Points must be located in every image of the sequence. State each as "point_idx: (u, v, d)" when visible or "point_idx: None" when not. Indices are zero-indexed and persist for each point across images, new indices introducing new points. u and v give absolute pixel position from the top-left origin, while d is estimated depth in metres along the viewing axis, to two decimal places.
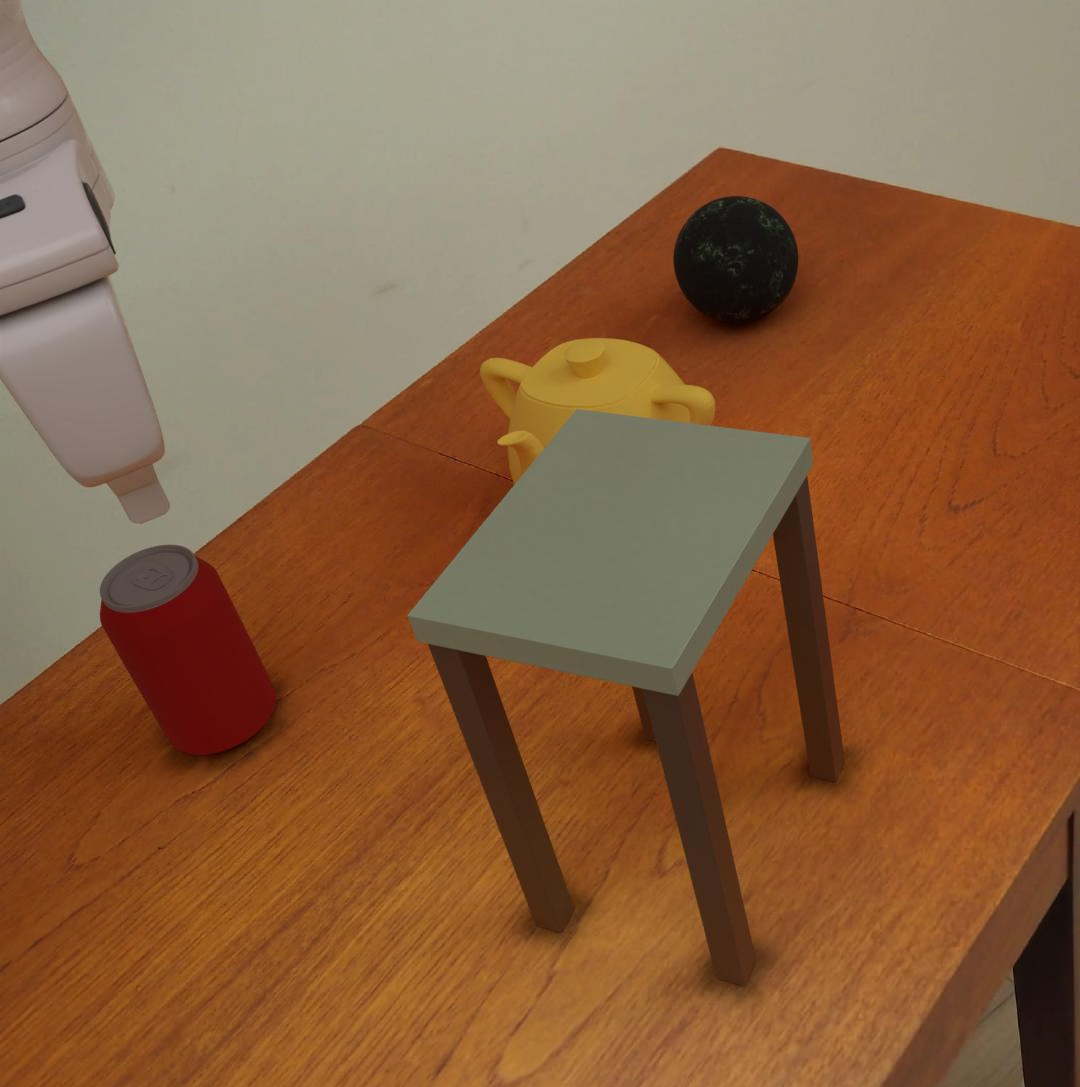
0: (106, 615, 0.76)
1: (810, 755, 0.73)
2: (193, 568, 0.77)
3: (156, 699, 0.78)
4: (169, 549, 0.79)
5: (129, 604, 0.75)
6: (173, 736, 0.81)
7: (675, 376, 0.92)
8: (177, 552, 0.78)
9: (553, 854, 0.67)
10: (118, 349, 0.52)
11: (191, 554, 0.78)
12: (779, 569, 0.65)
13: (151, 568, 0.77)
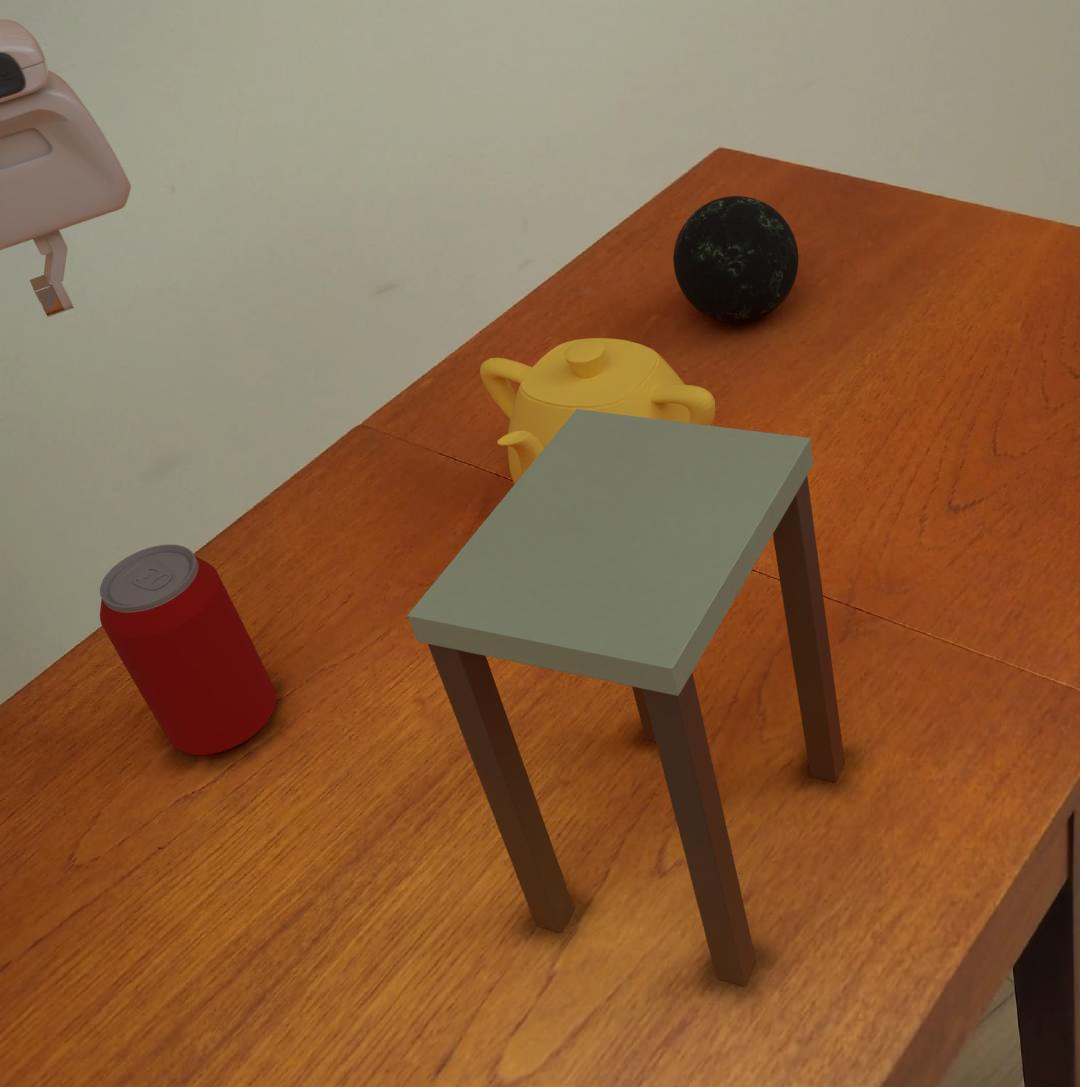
0: (106, 615, 0.76)
1: (810, 755, 0.73)
2: (193, 568, 0.77)
3: (156, 699, 0.78)
4: (169, 549, 0.79)
5: (129, 604, 0.75)
6: (173, 736, 0.81)
7: (675, 376, 0.92)
8: (177, 552, 0.78)
9: (553, 854, 0.67)
10: None
11: (191, 554, 0.78)
12: (779, 569, 0.65)
13: (151, 568, 0.77)
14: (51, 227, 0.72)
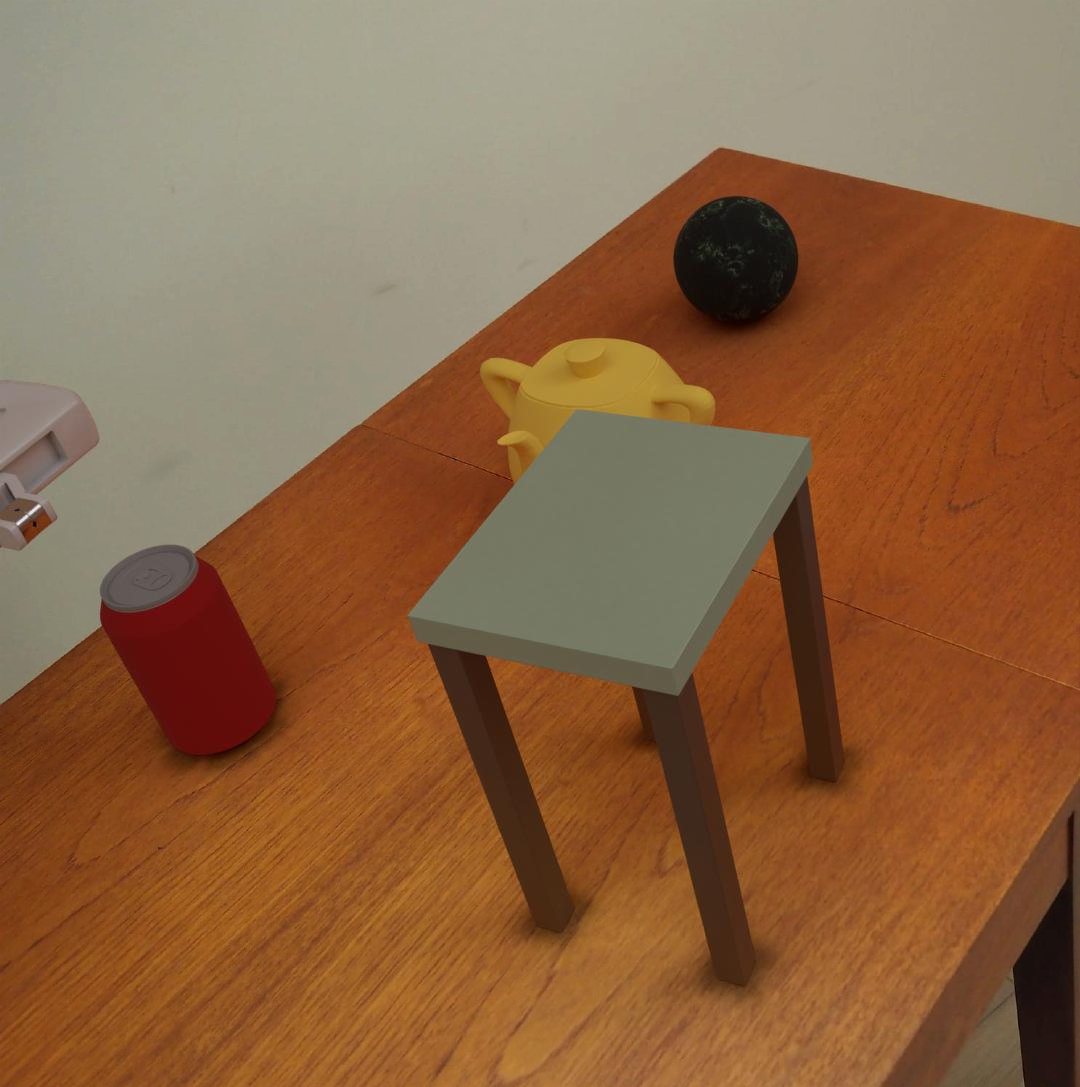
0: (106, 615, 0.76)
1: (810, 755, 0.73)
2: (193, 568, 0.77)
3: (156, 699, 0.78)
4: (169, 549, 0.79)
5: (129, 604, 0.75)
6: (173, 736, 0.81)
7: (675, 376, 0.92)
8: (177, 552, 0.78)
9: (553, 854, 0.67)
10: None
11: (191, 554, 0.78)
12: (779, 569, 0.65)
13: (151, 568, 0.77)
14: (28, 432, 0.82)
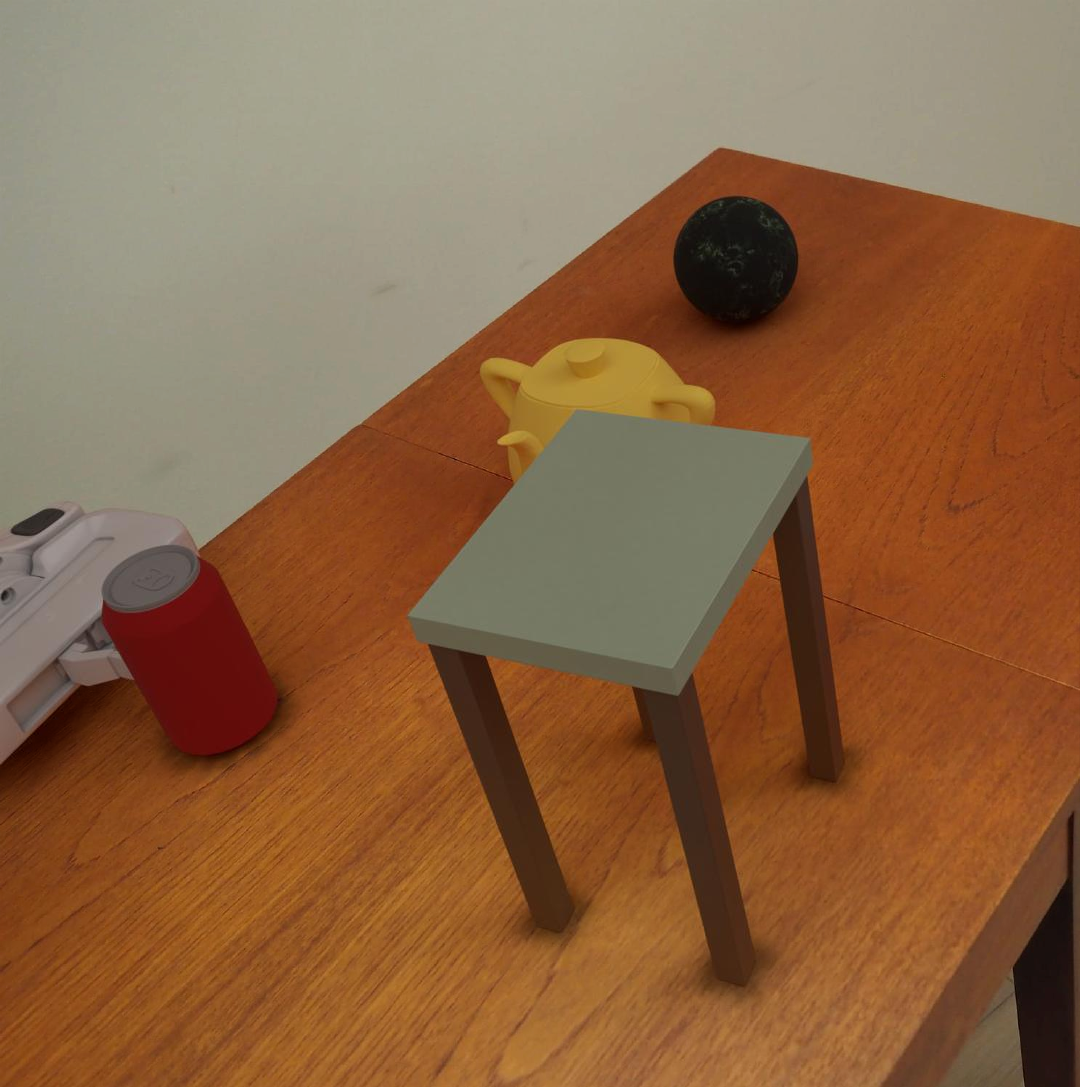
0: (108, 615, 0.76)
1: (810, 755, 0.73)
2: (195, 568, 0.76)
3: (158, 699, 0.78)
4: (171, 549, 0.79)
5: (131, 604, 0.75)
6: (174, 736, 0.81)
7: (675, 376, 0.92)
8: (179, 552, 0.78)
9: (553, 854, 0.67)
10: None
11: (193, 554, 0.78)
12: (779, 569, 0.65)
13: (153, 568, 0.77)
14: None
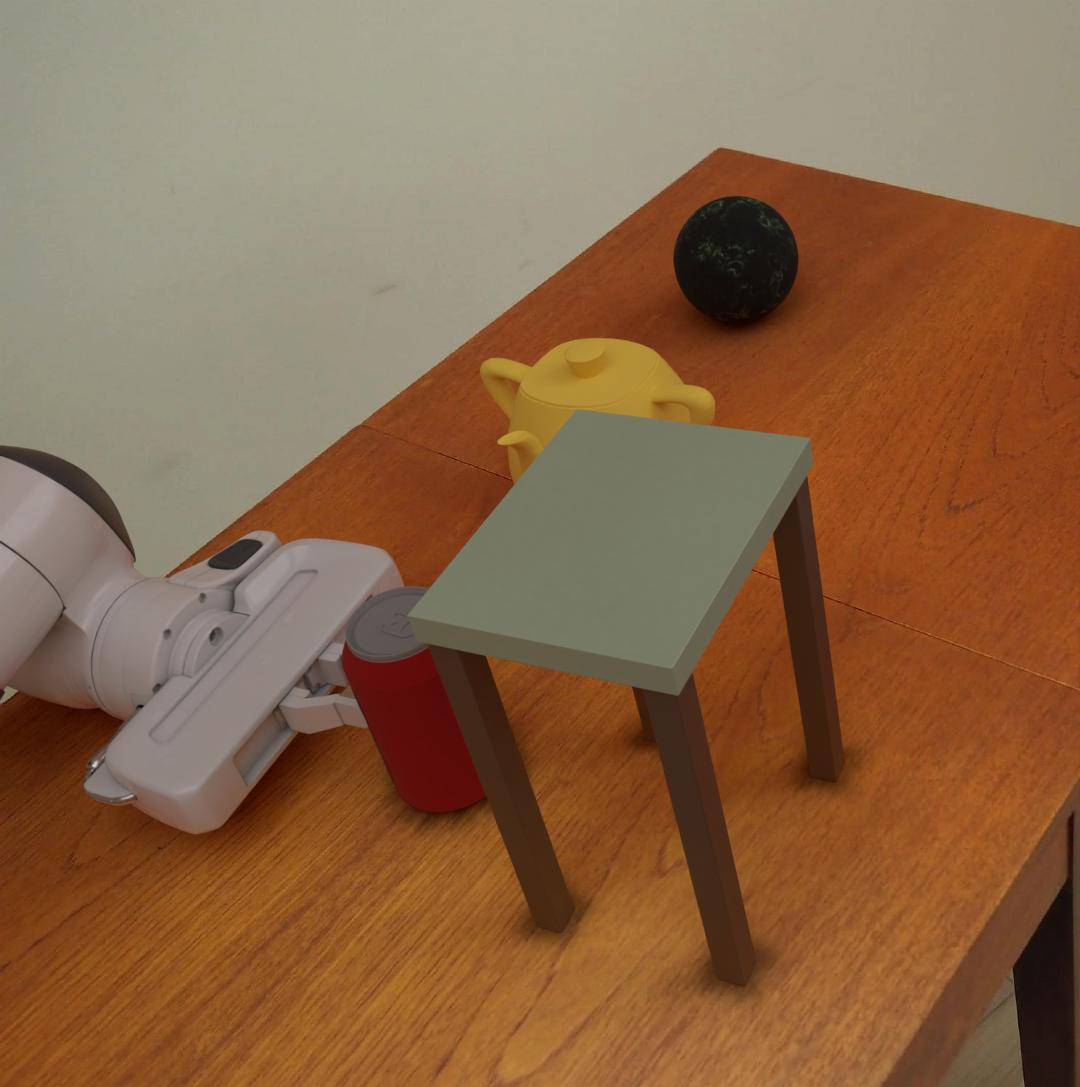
0: (353, 665, 0.70)
1: (810, 755, 0.73)
2: None
3: (398, 754, 0.72)
4: (413, 591, 0.72)
5: (380, 653, 0.69)
6: (409, 792, 0.74)
7: (675, 376, 0.92)
8: (422, 595, 0.72)
9: (553, 854, 0.67)
10: None
11: None
12: (779, 569, 0.65)
13: (397, 612, 0.71)
14: (351, 598, 0.81)
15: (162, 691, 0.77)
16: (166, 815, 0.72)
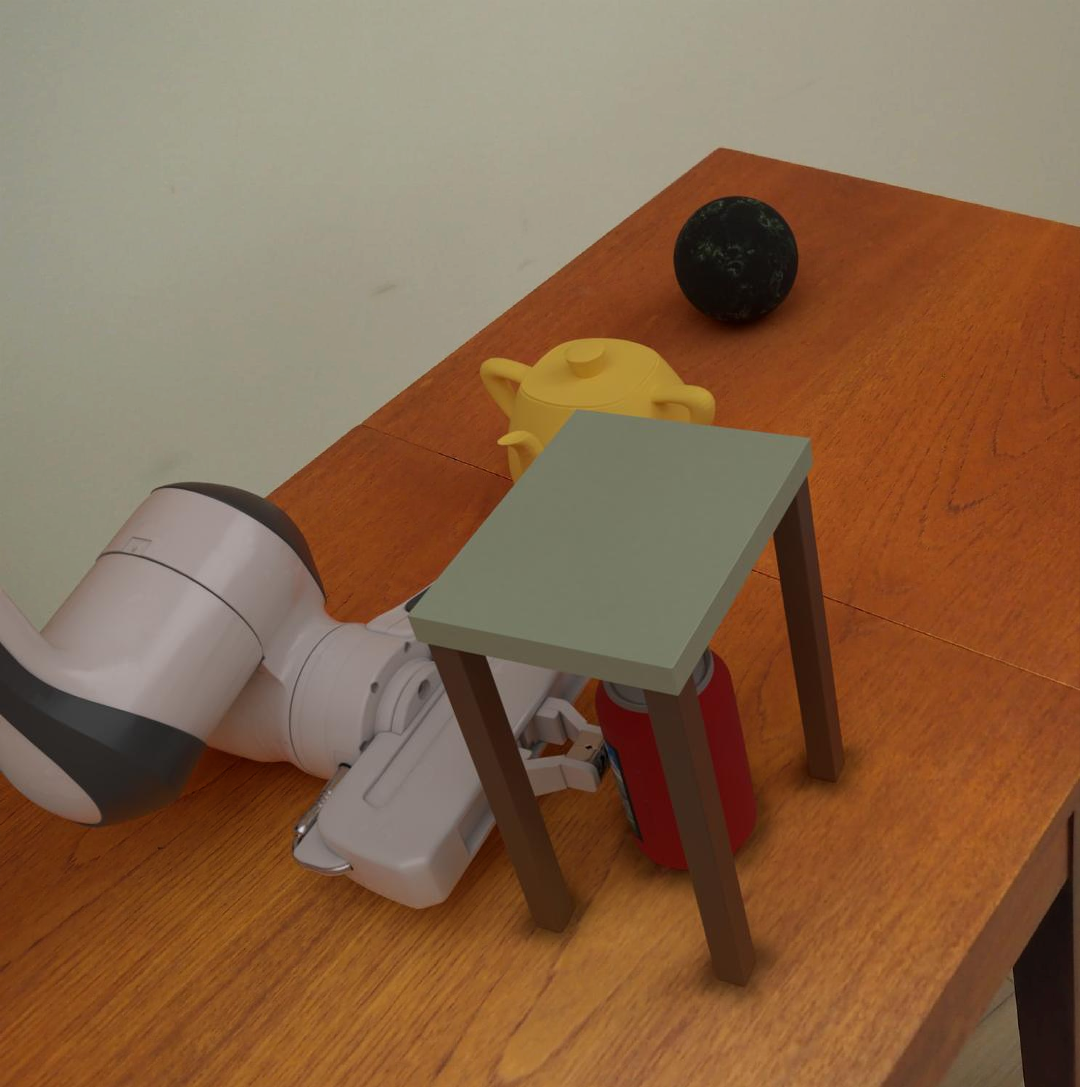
0: (620, 717, 0.64)
1: (810, 755, 0.73)
2: (710, 654, 0.65)
3: (660, 810, 0.67)
4: None
5: None
6: (663, 850, 0.69)
7: (675, 376, 0.92)
8: None
9: (553, 854, 0.67)
10: None
11: None
12: (779, 569, 0.65)
13: None
14: None
15: (371, 749, 0.71)
16: (387, 888, 0.67)
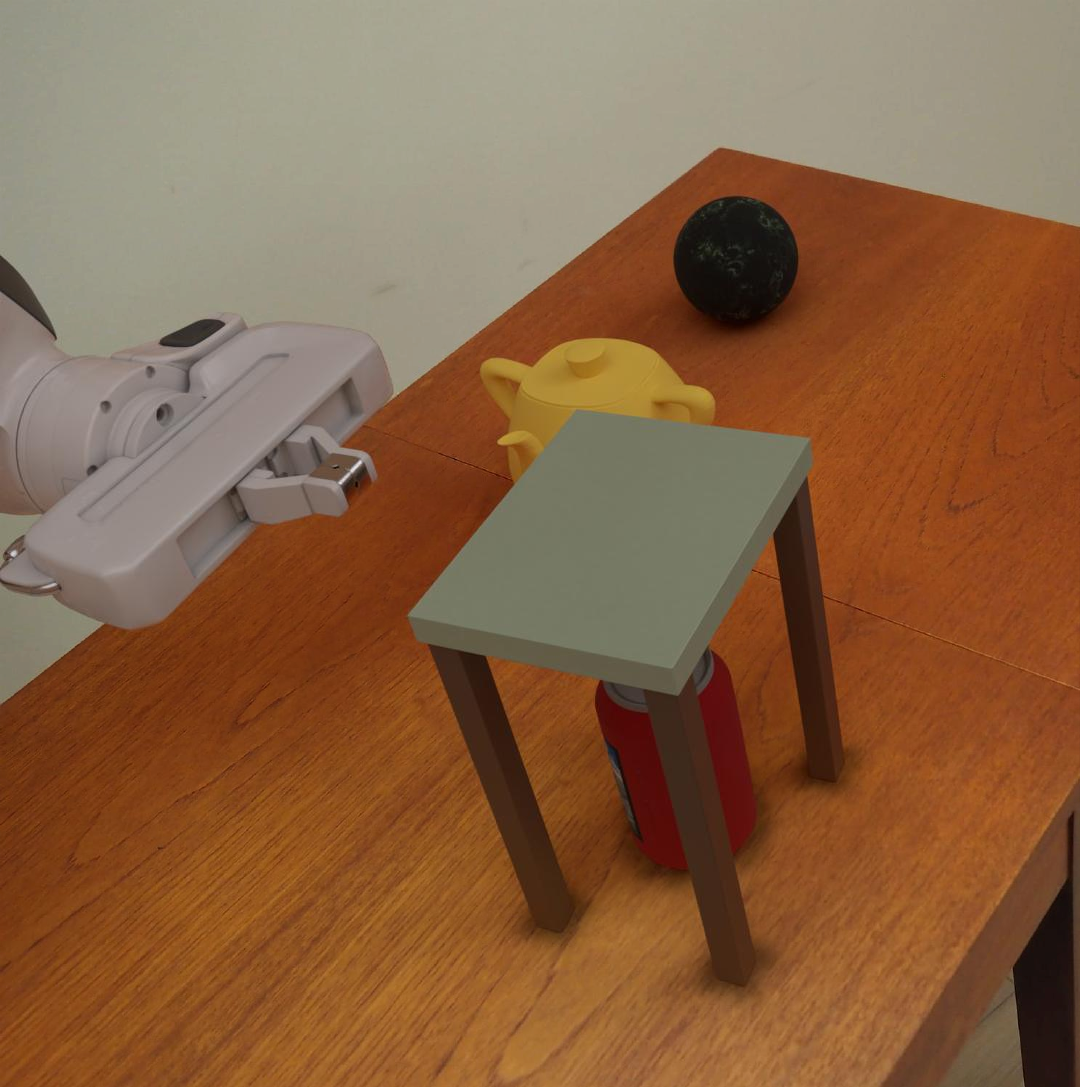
0: (620, 717, 0.64)
1: (810, 755, 0.73)
2: (711, 654, 0.65)
3: (660, 810, 0.67)
4: None
5: None
6: (663, 850, 0.69)
7: (675, 376, 0.92)
8: None
9: (553, 854, 0.67)
10: None
11: None
12: (779, 569, 0.65)
13: None
14: (327, 378, 0.68)
15: (98, 472, 0.64)
16: (95, 605, 0.60)
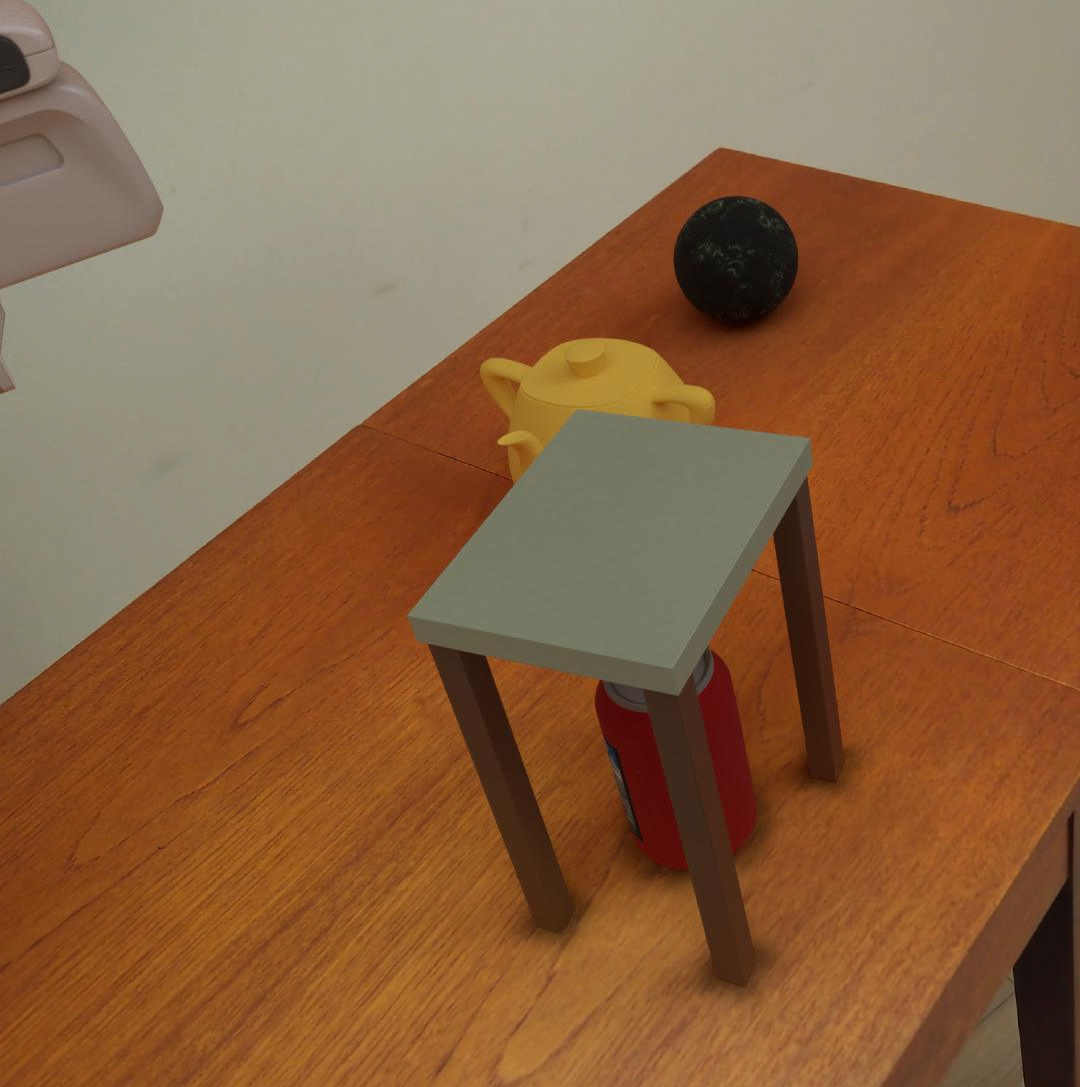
0: (620, 717, 0.64)
1: (810, 755, 0.73)
2: (710, 654, 0.65)
3: (660, 810, 0.67)
4: None
5: None
6: (663, 850, 0.69)
7: (675, 376, 0.92)
8: None
9: (553, 854, 0.67)
10: None
11: None
12: (779, 569, 0.65)
13: None
14: (62, 261, 0.56)
15: None
16: None
